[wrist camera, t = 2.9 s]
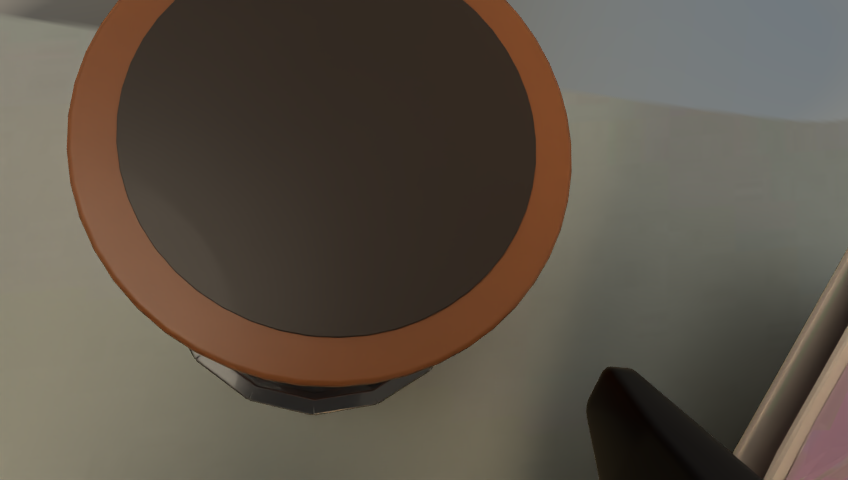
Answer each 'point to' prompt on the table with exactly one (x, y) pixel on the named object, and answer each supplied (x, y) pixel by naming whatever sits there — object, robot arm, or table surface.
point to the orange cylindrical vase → (320, 177)
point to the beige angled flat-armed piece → (807, 399)
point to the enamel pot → (306, 390)
